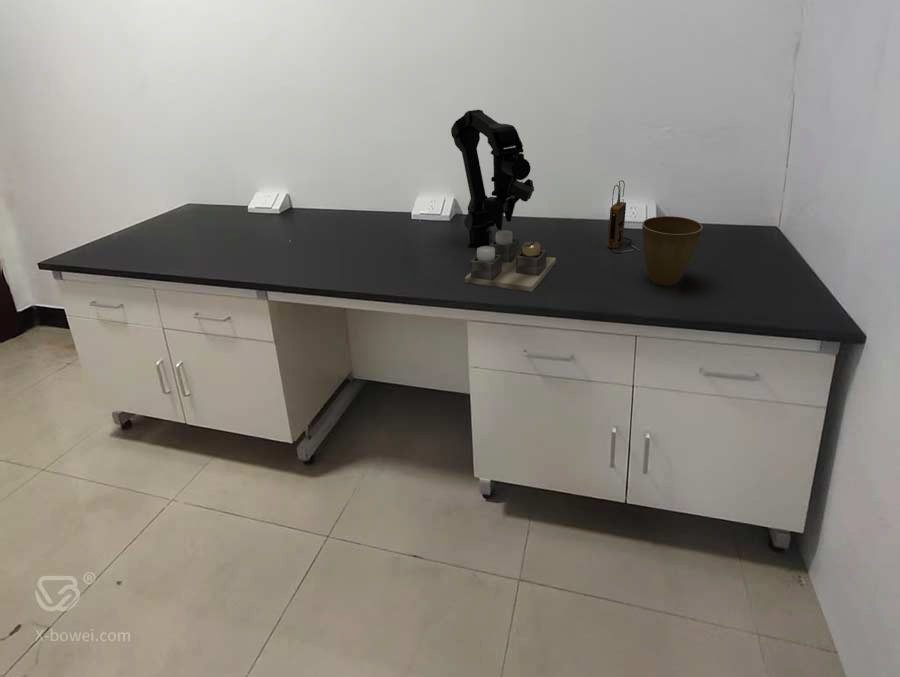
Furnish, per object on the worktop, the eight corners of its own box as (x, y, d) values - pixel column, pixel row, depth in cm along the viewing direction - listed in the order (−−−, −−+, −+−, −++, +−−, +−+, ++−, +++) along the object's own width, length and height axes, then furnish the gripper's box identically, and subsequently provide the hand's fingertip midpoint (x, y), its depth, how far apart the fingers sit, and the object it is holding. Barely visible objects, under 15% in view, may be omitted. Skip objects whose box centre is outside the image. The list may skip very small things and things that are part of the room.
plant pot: (662, 296, 155) (669, 237, 147) (625, 276, 167) (630, 221, 159) (706, 284, 160) (715, 226, 152) (667, 266, 172) (674, 212, 164)
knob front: (474, 267, 168) (474, 251, 166) (481, 261, 172) (481, 245, 170) (491, 270, 166) (490, 253, 164) (497, 263, 170) (497, 247, 168)
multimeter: (635, 256, 180) (641, 191, 170) (603, 252, 185) (607, 188, 175) (649, 241, 190) (655, 178, 181) (618, 237, 195) (623, 175, 186)
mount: (465, 282, 170) (464, 261, 167) (494, 255, 187) (493, 235, 184) (531, 291, 162) (532, 269, 159) (555, 262, 179) (556, 242, 176)
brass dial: (520, 263, 169) (519, 245, 167) (525, 257, 173) (525, 239, 171) (536, 265, 167) (537, 247, 165) (542, 259, 171) (542, 241, 169)
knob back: (493, 250, 179) (493, 235, 177) (499, 245, 183) (499, 229, 181) (509, 252, 177) (508, 236, 175) (514, 246, 181) (514, 231, 179)
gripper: (519, 182, 159) (519, 238, 166) (541, 166, 173) (540, 218, 181) (481, 180, 163) (482, 234, 171) (505, 164, 178) (505, 215, 185)
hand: (504, 225), depth 177 cm, fingers open, 7 cm apart
